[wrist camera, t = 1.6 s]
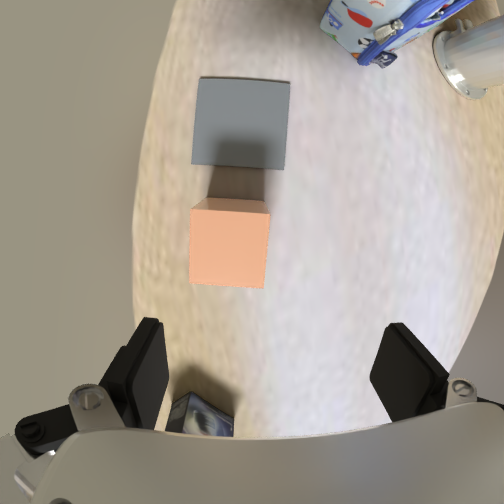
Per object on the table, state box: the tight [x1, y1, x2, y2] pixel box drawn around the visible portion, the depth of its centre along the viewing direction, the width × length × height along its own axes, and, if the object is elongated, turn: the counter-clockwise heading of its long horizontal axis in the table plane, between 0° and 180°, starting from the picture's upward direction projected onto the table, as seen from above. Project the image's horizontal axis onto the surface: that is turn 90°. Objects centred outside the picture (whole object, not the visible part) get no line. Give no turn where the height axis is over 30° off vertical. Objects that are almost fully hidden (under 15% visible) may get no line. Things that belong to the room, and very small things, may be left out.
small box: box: [165, 391, 234, 437], centre depth 40 cm, size 11×6×10 cm, turn 44°
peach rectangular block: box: [189, 197, 270, 288], centre depth 30 cm, size 7×7×10 cm
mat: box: [191, 79, 290, 170], centre depth 31 cm, size 11×11×1 cm
